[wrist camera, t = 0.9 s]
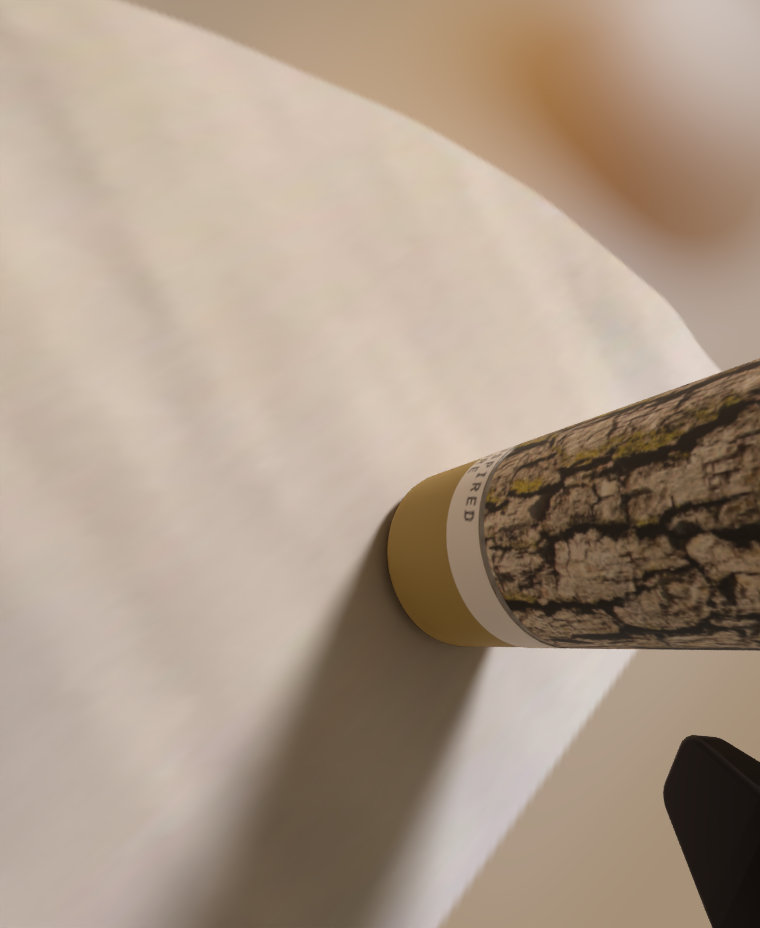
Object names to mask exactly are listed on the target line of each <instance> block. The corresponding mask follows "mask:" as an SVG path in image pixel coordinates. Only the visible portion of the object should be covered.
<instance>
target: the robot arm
mask: <svg viewBox="0 0 760 928" xmlns="http://www.w3.org/2000/svg"><path fill="white" fill-rule="evenodd" d="M663 796H664V803H665V807H666V810H667V812H668V815H669V818H670V820H671V823H672V825H673V828H674V831H675V833H676V836H677V838H678V841H679V844H680V846H681V849H682V851H683V854H684V856H685V859H686V861H687V864H688V867H689V869H690V872H691V874H692V877H693V880H694V882H695V885H696V887H697V890H698V893H699V895H700V898H701V900H702V903H703V905H704V908H705V911H706V913H707V916H708V918H709V920H710V923H711V925H712V928H760V762H759V761H757V760H755V759H754V758H752V757H751V756H749V755H747V754H745V753H744V752H742V751H741V750H739V749H737V748H736V747H734V746H733V745H731V744H729V743H728V742H726V741H724V740H722V739H720V738H717V737H708V736H697V735H691V736H688V737H686V738H685V739H684V740H683V741H682V743H681V745H680V747H679V749H678V752H677V754H676V757H675V759H674V762H673V764H672V767H671V769H670V772H669V774H668V777H667V779H666V782H665V785H664V791H663Z"/></svg>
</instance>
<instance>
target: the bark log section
mask: <svg viewBox="0 0 760 928" xmlns="http://www.w3.org/2000/svg"><path fill="white" fill-rule="evenodd" d="M387 559H388V568H389V573H390V578H391V581H392V585H393V588H394V590H395V593H396V595H397V597H398V599H399V601H400V603H401V605H402V606H403V608H404V610H405V611H406V613H407V614H408V615H409V617H410V618H411V619H412V620H413V622H414V623H415V624H416V625H417V626H418V627H419V628H421V629H422V630H423V631H424V632H425V633H427V634H428V635H430V636H431V637H433V638H435V639H437V640H439V641H441V642H444V643H447V644H451V645H456V646H469V647H525V648H585V649H674V650H675V649H676V650H760V359H757V360H754V361H752V362H748V363H746V364H743V365H740V366H737V367H735V368H732V369H729V370H726V371H723V372H720V373H718V374H715V375H712V376H709V377H706V378H704V379H701V380H698V381H695V382H692V383H690V384H687V385H684V386H681V387H678V388H676V389H673V390H670V391H667V392H664V393H662V394H659V395H656V396H653V397H650V398H648V399H645V400H642V401H639V402H636V403H634V404H631V405H628V406H625V407H622V408H620V409H617V410H614V411H611V412H608V413H606V414H603V415H600V416H597V417H594V418H592V419H589V420H586V421H583V422H580V423H578V424H575V425H572V426H569V427H566V428H564V429H561V430H558V431H555V432H552V433H550V434H547V435H544V436H541V437H538V438H536V439H533V440H530V441H527V442H525V443H522V444H519V445H516V446H513V447H510V448H508V449H505V450H502V451H499V452H496V453H494V454H491V455H488V456H486V457H484V458H482V459H479V460H476V461H473V462H470V463H468V464H465V465H462V466H459V467H456V468H454V469H451V470H448V471H445V472H442V473H439V474H437V475H434V476H432V477H429V478H427V479H425V480H424V481H422V482H420V483H419V484H417V485H416V486H415V487H414V488H412V489H411V490H410V491H409V492H408V493H407V495H406V496H405V497H404V498H403V500H402V501H401V503H400V504H399V506H398V508H397V510H396V512H395V514H394V517H393V520H392V523H391V527H390V531H389V538H388V547H387Z"/></svg>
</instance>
